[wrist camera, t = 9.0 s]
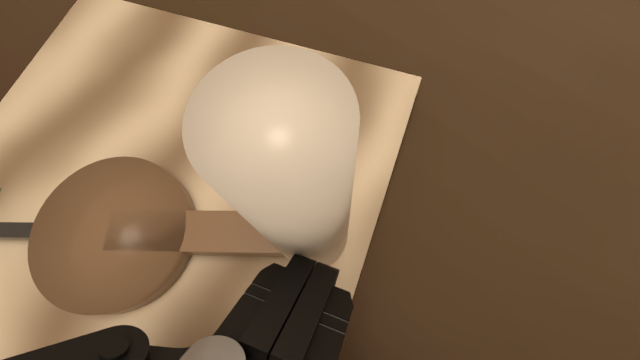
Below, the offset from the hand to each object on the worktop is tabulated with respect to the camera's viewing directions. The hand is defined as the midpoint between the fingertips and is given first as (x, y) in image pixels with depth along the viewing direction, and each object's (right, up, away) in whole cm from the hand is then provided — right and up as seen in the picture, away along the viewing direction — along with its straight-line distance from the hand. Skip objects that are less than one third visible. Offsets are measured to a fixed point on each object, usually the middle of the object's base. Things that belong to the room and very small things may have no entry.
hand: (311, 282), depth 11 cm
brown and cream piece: (-9, +1, +6) cm, 11 cm away
